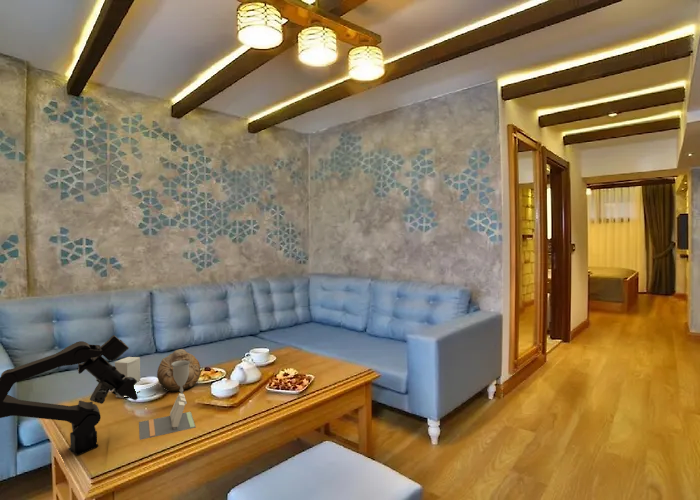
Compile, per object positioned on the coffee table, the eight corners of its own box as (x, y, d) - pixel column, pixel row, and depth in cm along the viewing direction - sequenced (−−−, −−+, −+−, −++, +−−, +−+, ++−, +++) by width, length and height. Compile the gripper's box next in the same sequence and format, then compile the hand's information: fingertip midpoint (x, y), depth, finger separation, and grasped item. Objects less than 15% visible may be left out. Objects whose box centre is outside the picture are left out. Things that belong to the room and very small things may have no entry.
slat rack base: (139, 443, 136) (139, 415, 135) (139, 425, 148) (138, 399, 147) (195, 430, 144) (195, 404, 144) (190, 414, 157) (190, 390, 156)
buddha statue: (165, 398, 172) (163, 358, 171) (152, 387, 184) (151, 350, 183) (210, 385, 185) (209, 348, 184) (196, 375, 198) (194, 341, 197)
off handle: (172, 426, 142) (179, 404, 143) (171, 423, 145) (178, 401, 146) (177, 427, 143) (184, 405, 144) (177, 423, 146) (183, 402, 147)
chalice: (168, 407, 163) (167, 364, 162) (182, 401, 169) (181, 359, 168) (180, 411, 159) (180, 367, 158) (194, 404, 165) (193, 362, 164)
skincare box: (127, 399, 170) (126, 363, 170) (114, 397, 172) (113, 362, 171) (141, 391, 179) (140, 356, 178) (128, 389, 180) (127, 355, 179)
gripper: (74, 388, 136) (109, 415, 142) (89, 394, 123) (126, 424, 129) (102, 361, 143) (134, 388, 149) (119, 365, 130) (153, 394, 136)
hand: (136, 399), depth 141 cm, fingers closed
